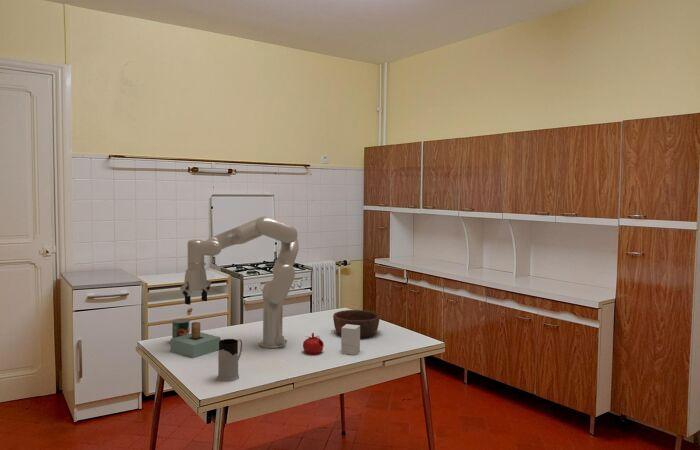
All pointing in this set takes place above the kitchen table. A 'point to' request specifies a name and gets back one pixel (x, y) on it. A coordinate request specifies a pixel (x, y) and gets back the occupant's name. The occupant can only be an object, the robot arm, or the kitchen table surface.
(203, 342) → the socket block
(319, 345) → the pomegranate
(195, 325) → the walnut peg
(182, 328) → the canned tomato
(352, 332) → the supplement box
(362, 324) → the wooden bowl
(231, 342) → the grey pitcher
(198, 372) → the kitchen table surface
